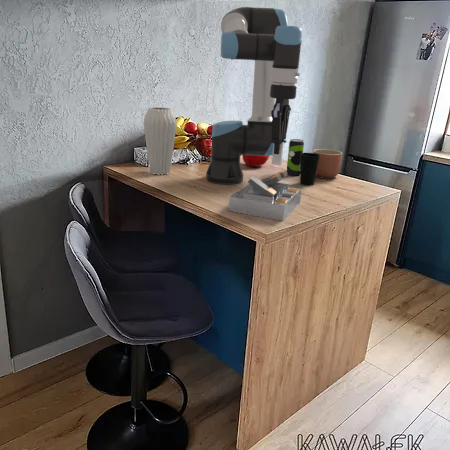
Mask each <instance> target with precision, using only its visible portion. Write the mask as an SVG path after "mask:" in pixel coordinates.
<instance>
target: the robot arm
mask: <svg viewBox="0 0 450 450" xmlns="http://www.w3.org/2000/svg"><path fill="white" fill-rule="evenodd" d="M288 23H289V22H288V16H287V13H286V12H285V11H284V10H283V9H281V8H280V9H279V8H274V7H272V8H271V7H253V6H252V7H248V6H242V7H237V8H235V9H232V10H230V11H229V12H227V13H226V14H224V16H223V17H222V19H221V22H220V30H221V36H220V56H221V58H223V59H228V60H246V61H254V72H253V88H252V89H253V90H252V91H253V92H252V105H251V106H252V107H251V117H250V118H248V119H247V124H243V122H242V121H241V120H223V121H220V122H219V121H218V122H215V123H214V124H213V126H212V130H211V151H210V162H209V165H208V168H207V170H206V174H205V180H206V181H207V182H209V183H214V184H219V185H236V184H240V183H242V182H244V173H243V168H242V165H241V155H259V156H269V157H271V156H272V157H271V164H272V165H277V166H280V165H282V162H283V153H284V144H285V143H287V140H286V139H287V133H288V128H289V120H290V114H291V111H292V107H291V105H290V100H294V99H296V96H297V85H296V84H297V83H298V77H300V75H301V74H300V72H299V68H300V67H299V65H300V58H301V57H300V55H301V47H302V42H303V38H302V37H303V35H302V33H303V29H302V28H301V27H300V26H297V25H295V26H293V25H289V24H288Z"/></svg>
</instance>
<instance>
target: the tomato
mask: <svg viewBox="0 0 450 450" xmlns="http://www.w3.org/2000/svg"><path fill="white" fill-rule="evenodd" d="M269 158H270V156H259V155H242V157H241V159H242V160H243V162H244V164H245V165H246V166H249V167H260V166H262V165H265V164H266V163H267V162H268V160H269Z"/></svg>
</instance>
